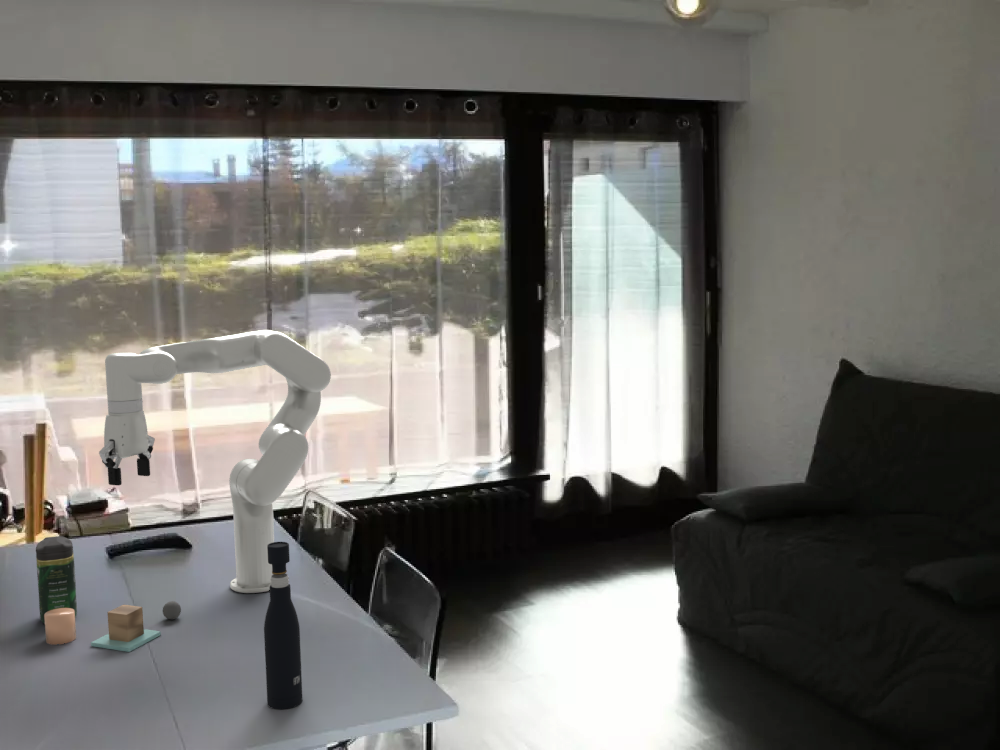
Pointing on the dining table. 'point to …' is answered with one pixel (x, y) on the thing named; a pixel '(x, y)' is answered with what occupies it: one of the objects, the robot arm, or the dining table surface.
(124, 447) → the robot arm
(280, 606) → the insulated water bottle
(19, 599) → the dining table surface
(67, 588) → the coffee jar
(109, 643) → the coaster
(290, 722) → the dining table surface
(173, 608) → the rubber ball
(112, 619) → the walnut block
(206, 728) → the dining table surface
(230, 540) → the dining table surface
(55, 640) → the beige rounded cylinder
